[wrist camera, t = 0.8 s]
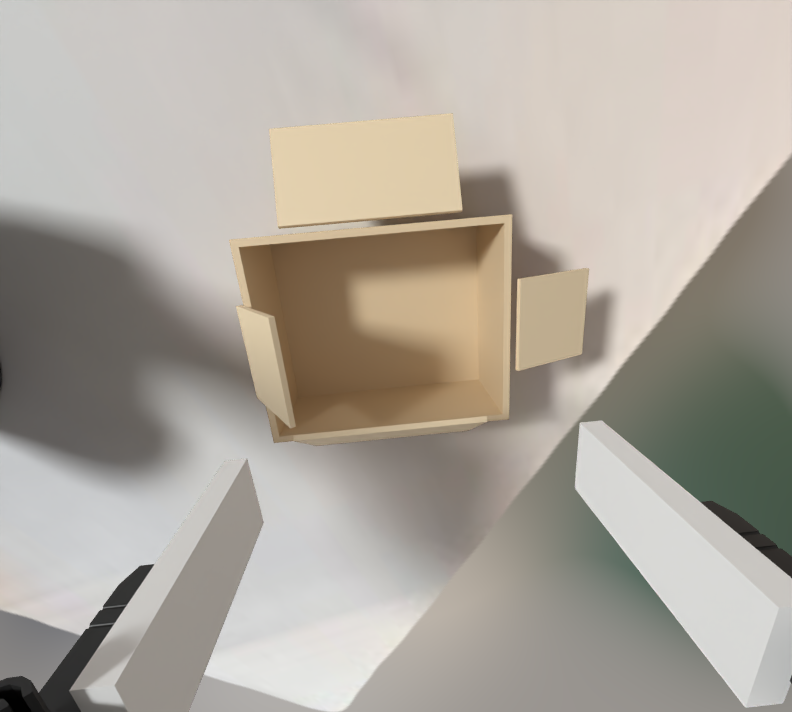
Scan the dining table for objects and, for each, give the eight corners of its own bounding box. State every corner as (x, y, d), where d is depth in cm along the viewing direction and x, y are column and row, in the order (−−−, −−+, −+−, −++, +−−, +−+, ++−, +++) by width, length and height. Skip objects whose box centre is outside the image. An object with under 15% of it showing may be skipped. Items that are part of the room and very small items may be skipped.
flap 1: (261, 396, 32) (256, 397, 31) (241, 305, 29) (235, 306, 29) (296, 426, 26) (290, 428, 26) (274, 316, 23) (268, 317, 23)
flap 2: (269, 128, 28) (270, 132, 28) (277, 226, 27) (279, 228, 28) (452, 113, 28) (451, 116, 28) (462, 209, 28) (461, 212, 28)
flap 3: (316, 441, 33) (316, 445, 33) (293, 435, 26) (293, 441, 26) (467, 426, 34) (468, 430, 33) (486, 416, 26) (487, 421, 26)
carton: (294, 400, 42) (274, 442, 34) (263, 238, 36) (228, 239, 28) (482, 382, 43) (508, 419, 34) (481, 219, 37) (512, 214, 28)
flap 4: (581, 354, 35) (578, 353, 35) (588, 268, 32) (585, 268, 32) (518, 370, 32) (515, 369, 32) (520, 279, 29) (517, 278, 30)
